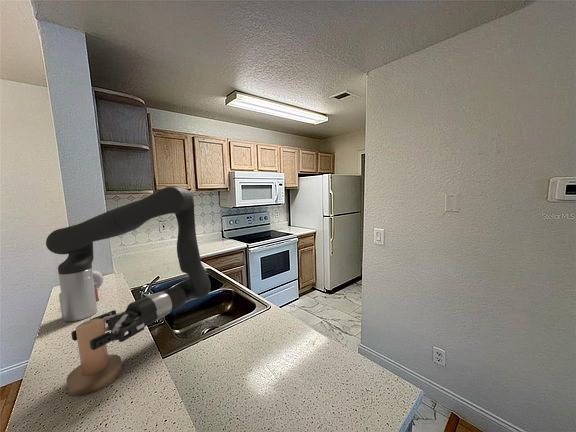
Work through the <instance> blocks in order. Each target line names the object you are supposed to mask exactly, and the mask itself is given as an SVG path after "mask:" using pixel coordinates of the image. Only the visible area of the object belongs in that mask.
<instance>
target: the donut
mask: <svg viewBox="0 0 576 432" xmlns="http://www.w3.org/2000/svg"><path fill="white" fill-rule="evenodd" d="M92 272H93V278H94V279H95V281H94V282H96V283H97V290H98V289H99V288H100V287H102V285H103V283H104V277H103V274H102V273H101V272H99V271H98V270H92Z"/></svg>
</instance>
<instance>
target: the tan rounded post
mask: <svg viewBox="0 0 576 432" xmlns="http://www.w3.org/2000/svg"><path fill="white" fill-rule="evenodd" d="M75 330H76V334H77V340H76V341H77V348H78V349H77V350H78V355H79V361H80V365H81V370H82V375H83V376H91V375H95V374H97V373H99V372H101V371H103V370H104V369H105V368H106V367H107V366H108V365H109V359H108V354H109V353H108V352H109V351H108V345H107V344H108V343H107V344H105V345H103V346H101V347H99V348H97V349H95V350H92V349H90V341H91V340H92V339H94V338H96V337H99V336H101V335H103V334H105V333H106V331H105V328H104V320H103V319H93V320H90V319H89V320H87V321H83V322H82V323H80V324H78V325H77V326H76V327H75Z"/></svg>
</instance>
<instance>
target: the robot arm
mask: <svg viewBox="0 0 576 432" xmlns="http://www.w3.org/2000/svg"><path fill="white" fill-rule="evenodd" d="M194 201H195V200H194V196H193V194H192V193H191V191H190V190H188V188H187V189H186V188H182V187H179V186H175V185H174V186H166V187H163V188H162V189H159V190H158V191H156V192H154V193H151V194H150V195H148V196H146V197H144V198H142V199H141V198H140V199H139V200H136V201H132V202H129V203H127V204H126V203H125V204H124V205H121V206H118V207H116V208H112V209H110V210H108V211H105V212H103V213H101V214H98V215H96V216H94V217H92V218H89V219H87V220H85V221H82V222H80V223H78V224H77V223H76V224H73V225H70V226H66V227H62V228H57V229H55V230H53V231H51V233H50V234H48V235H47V238H46V240H45V245H46V248H47V250H49V251H50V253H53V254H57V255H67V257H66V259H65V260H64V261H63V262H61V263H60V264H59V265H58V267H57V272H58V280H59V288H60V293H59V294H58V297H59V304H60V312H61V319H63V320H64V321H65V322H77V321H81V320H84V319H86V318H89V317H91V316H94V315H95V314H96V313H97V312H98V307H97V302H96V296H95V288H94V280H93V272H92V271H93V261H94V242H97V241H102V240H107V239H111V238H115V237H118V236H121V235H124V234H127V233H129V232H132V231H135V230H137V229H138V228H140V227H142V226H143V225H144V224H145V223H146V222H148V221H149V220H152V219H155V218H157V217H161V216H165V215H170V214H174V215H175V217H176V218H175V219H176V221H177V226H178V227H177V241H176V254H177V259H178V263H179V269H180V271H181V272H182V273H184V274H186V275H187V276H189V278H186V279H184V280H181V281H180V282H178V283H176V284H175V285H173V286H172V287H168V288H167V289H164V290H162V291H159V292H155V293H152V294H149V295H146V296H145V297H141V298H140V299H138V300H135V301H132V302H130V303H129V304H128V305H127V307H126V309H125V311H122V312H117V311H116V309H114V310H113V309H112V310H111V311H109V312H105V313H103V314H100V315H98V316H96V317H93V318H90V319H89V320H93V319H103V320H104V328H105V334H103V335H101V336H99V337H96V338H94V339H92V340H91V341H90V349H92V350H95V349H97V348H99V347H101V346H103V345H105V344H109V343H111V342H112V343H113V342H114V343H115V342H117V341H118V343H123V342H125V341H126V340H129V339H130V338H132V337H134V336H135V335H137V334H139V333H141V332H143V331H144V330H145V327H148V326H149V325H151V324H152V323H154V322H157V321H159V320H160V319H162V318H164V317H165V316H167V315H169V314H170V313H172V312H174V311H176V310H178V309H179V308H181V307H183V305H185V304H186V301H189V300H191V299H203V298H206V297H207V296H208V295H209V293H210V291H211V286H212V285H211V280H210V278H209V275H208V274H207V271H206V270H205V267H204V266H203V264H202V259H201V255H200V249H199V245H198V240H197V233H196V231H197V230H196V220H195V202H194ZM127 332H128V333H127ZM126 333H127V334H126ZM71 340H73V341H75V342H76V341H77V334H76V329H75V330H72V331H71Z"/></svg>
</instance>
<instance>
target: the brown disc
mask: <svg viewBox="0 0 576 432" xmlns="http://www.w3.org/2000/svg"><path fill="white" fill-rule="evenodd" d="M108 359H109V365H108V366H107V367H106V368H105V369H104V370H103V371H101V372H99V373H97V374H95V375H91V376H83V375H82V370H81V364H80V365H78V366H76V367H75V368H74V369H73V370H71V372H70V373H69V374H68V375H67V377H66V388H67V393H68V394H69V395H70V396H73V397H81V396H82V397H83V396H87V395H91V394H93V393H97V392H98V391H100V390H102V389H103V388H107V387H108V386H109V385H111V383H113V382H114V381H115V380H116V379H118V378H119V376H120V375H121V373H122V370H123V366H122V358H121V356H120V355H118V354H113V353H111V354H109V353H108Z"/></svg>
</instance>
